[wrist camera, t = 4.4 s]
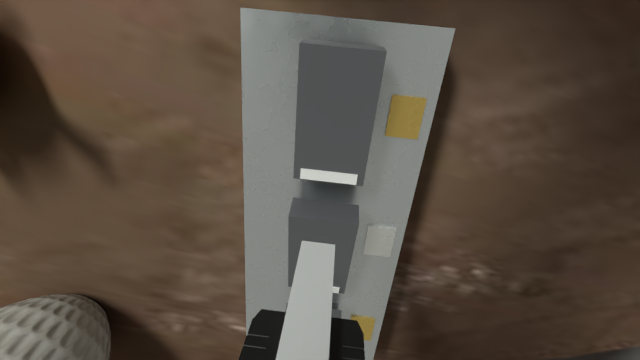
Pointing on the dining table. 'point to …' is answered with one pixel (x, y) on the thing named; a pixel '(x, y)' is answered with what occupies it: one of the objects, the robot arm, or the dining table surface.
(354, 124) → the switch
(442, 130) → the dining table surface
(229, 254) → the dining table surface
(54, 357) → the vase
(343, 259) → the switch
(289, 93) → the console
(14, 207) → the dining table surface
